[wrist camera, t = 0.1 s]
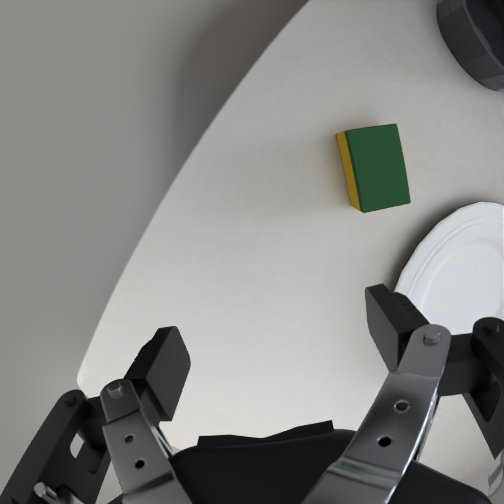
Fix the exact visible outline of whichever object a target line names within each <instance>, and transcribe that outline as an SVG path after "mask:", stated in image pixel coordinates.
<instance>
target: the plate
mask: <svg viewBox="0 0 504 504" xmlns="http://www.w3.org/2000/svg"><path fill="white" fill-rule="evenodd" d="M394 292H399V293H401V294H403V295H406V296H407V297H408V298H409V299H410V301H411V302H412V303H413V304H414V305H415V306H416V308H417V309H418V310H419V311H420V312H421V313H422V314H423V316H424V317H425V318H426V319H427V320H428V321H429V323H430V324H437V325H441V326H444V327H446V328H447V329H448V330H449V331H450V333H451V335H458V334H465V333H472V329H473V325H474V323H475V322H476V321H477V320H479V319H481V318H484V317H496V318H499V319H502V320H503V321H504V206H502V205H501V204H499V203H490V202H476V203H473V204H470V205H467V206H463V207H460V208H458V209H457V210H455V211H454V212H452V213H451V214H449V215H448V216H446V217H445V218H443V219H442V220H440V221H439V222H438V223H437V224H436V225H435V226H434V227H433V228H432V229H431V230H430V231H429V233H428V234H427V235H426V236H425V237H424V238H423V239H422V240H421V241H420V242H419V243H418V245H417V246H416V248H415V250H414V251H413V253H412V255H411V256H410V258H409V259H408V261H407V263H406V264H405V266H404V267H403V269H402V270H401V273H400V276H399V278H398V281H397V283H396V286H395V289H394V291H393V293H394Z"/></svg>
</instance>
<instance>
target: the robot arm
mask: <svg viewBox="0 0 504 504" xmlns="http://www.w3.org/2000/svg"><path fill="white" fill-rule="evenodd" d="M365 299H366V311H367V322H368V328H369V331H370V334H371V336H372V338H373V340H374V342H375V344H376V346H377V348H378V350H379V352H380V354H381V356H382V358H383V360H384V362H385V364H386V366H387V368H388V370H389V374H388V376H387V378H386V380H385V382H384V384H383V386H382V388H381V389H380V391H379V393H378V395H377V397H376V399H375V401H374V403H373V404H372V406H371V408H370V410H369V412H368V413H367V415H366V417H365V419H364V420H363V422H362V424H361V425H360V427H359V429H358V430H357V431H353V430H346V429H334V428H333V423H332V420H329V421H325V422H320V423H314V424H309V425H304V426H298V427H295V428H292V429H290V430H287V431H284V432H281V433H278V434H275V435H272V436H269V437H265V438H254V437H245V436H237V435H214V436H199V439H198V443H197V445H196V446H193V447H189V448H186V449H184V450H182V451H180V452H178V453H176V454H175V452H174V451H173V449H172V447H171V445H170V444H169V442H168V440H167V438H166V437H165V435H164V433H163V431H162V430H161V428H160V427H159V423H160V421H172V419H173V416H174V413H175V410H176V407H177V404H178V401H179V398H180V395H181V393H182V390H183V387H184V384H185V381H186V378H187V375H188V373H189V370H190V366H191V362H190V356H189V353H188V351H187V349H186V346H185V344H184V342H183V339H182V337H181V335H180V332H179V330H178V328H177V327H176V326H170V327H163V328H159V329H158V330H157V331H156V333H155V335H154V336H153V338H152V340H150V341H149V342H147V343H146V344H145V345H144V346H143V347H142V348H141V350H140V352H139V353H138V356H137V357H136V358H135V360H134V362H133V363H132V365H131V366H130V368H129V370H128V371H127V373H126V375H125V376H124V378H123V379H117V380H114V381H112V382H110V383H109V384H107V385H106V386H105V387H104V388H103V389H102V391H101V393H100V396H98V397H93V398H89V399H87V397H86V396H85V395H84V393H83V392H82V391H81V390H77V389H76V390H71V391H69V392H67V393H65V394H63V395H62V396H61V397H60V398H59V400H58V401H57V403H56V404H55V406H54V407H53V409H52V410H51V412H50V413H49V415H48V416H47V418H46V419H45V421H44V423H43V424H42V426H41V427H40V429H39V430H38V432H37V434H36V435H35V437H34V438H33V440H32V442H31V443H30V445H29V446H28V448H27V450H26V451H25V453H24V455H23V456H22V458H21V460H20V462H19V463H18V465H17V467H16V468H15V470H14V472H13V474H12V476H11V477H10V479H9V481H8V483H7V485H6V487H5V488H4V490H3V492H2V494H1V496H0V504H95V503H96V500H97V497H98V494H99V491H100V489H101V486H102V483H103V480H104V478H105V475H106V472H107V470H108V467H109V464H110V462H111V460H112V463H113V466H114V469H115V472H116V475H117V477H118V480H119V483H120V486H121V489H122V491H123V493H122V494H121V495H119V496H118V497H117V498H115V499H114V500H112V501H111V502H109V503H108V504H504V321H503V320H502V319H499V318H496V317H484V318H481V319H479V320H477V321H476V322H475V323H474V325H473V329H472V333H465V334H458V335H451V333H450V331H449V330H448V329H447V328H446V327H444V326H441V325H437V324H430V323H429V321H428V320H427V319H426V318H425V317H424V316H423V314H422V313H421V312H420V311H419V310H418V309H417V308H416V306H415V305H414V304H413V303H412V302H411V301H410V299H409V298H408V297H407V296H406V295H403V294H401V293H399V292H394V293H391V292H390V291H389V290H388V289H387V288H386V286H385V285H384V284H383V283H382V284H378V285H374V286H370V287H366V288H365ZM457 394H462V395H463V397H464V399H465V401H466V403H467V404H468V406H469V408H470V410H471V412H472V414H473V416H474V418H475V420H476V422H477V424H478V426H479V428H480V430H481V432H482V434H483V436H484V438H485V440H486V442H487V444H488V446H489V448H490V451H491V453H492V455H493V457H494V459H495V461H494V463H493V464H492V466H491V467H490V470H489V473H488V481H489V493H488V496H486V495H485V494H484V493H482V492H481V491H479V490H478V489H476V488H473V487H471V486H469V485H466V484H464V483H462V482H459V481H457V480H455V479H453V478H451V477H448V476H446V475H444V474H442V473H440V472H438V471H436V470H434V469H432V468H430V467H428V466H426V465H424V464H422V463H420V462H418V461H419V458H420V456H421V453H422V450H423V448H424V445H425V442H426V439H427V436H428V434H429V431H430V428H431V425H432V422H433V420H434V417H435V414H436V411H437V407H438V404H439V401H440V398H441V396H450V395H457ZM76 433H77V434H78V435H79V436H80V437H81V438H82V439H83V441H84V443H83V445H82V447H81V449H80V451H79V453H78V455H77V457H76V459H75V458H74V456H73V455H72V454H71V450H70V445H71V442H72V440H73V438H74V437H75V435H76Z"/></svg>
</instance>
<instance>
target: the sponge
mask: <svg viewBox="0 0 504 504" xmlns="http://www.w3.org/2000/svg"><path fill="white" fill-rule="evenodd" d="M336 137H337V141H338V145H339V150H340V154H341V158H342V163H343V168H344V172H345V177H346V182H347V187H348V192H349V198H350V203H351V206H353V207H354V208H356V209H358V210H359V211H361V212H363V213H366V212H371V211H376V210H380V209H385V208H390V207H394V206H399V205H404V204H409V203H410V194H409V187H408V181H407V174H406V168H405V163H404V157H403V152H402V147H401V142H400V137H399V133H398V128H397V124H389V125H381V126H373V127H366V128H360V129H353V130H347V131H344V132H341V133H338V134H336Z"/></svg>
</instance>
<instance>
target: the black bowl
mask: <svg viewBox="0 0 504 504" xmlns="http://www.w3.org/2000/svg"><path fill="white" fill-rule="evenodd" d="M437 19H438V23H439V27H440V30H441V33H442V35H443V37H444V40H445V42H446V44H447V45H448V47H449V49H450V51H451V52H452V54H453V55H454V57H455V58H456V60H457V61H458V62H459V63H460V65H461V66H462V67H463V68H464V69H465V70H466V72H467V73H468V74H469V75H471V76H472V77H473V78H474V79H475V80H476V81H477V82H479V83H480V84H482V85H483V86H485V87H487V88H489V89H492V90H495V91H504V0H439V3H438V6H437Z"/></svg>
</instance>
